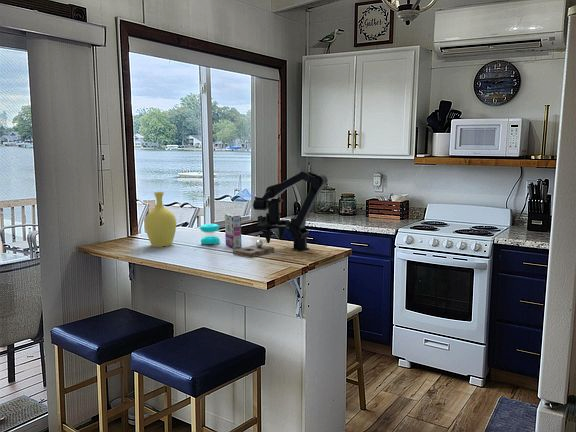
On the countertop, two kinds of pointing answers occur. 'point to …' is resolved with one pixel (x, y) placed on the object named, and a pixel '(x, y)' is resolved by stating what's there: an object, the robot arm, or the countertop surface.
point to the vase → (160, 224)
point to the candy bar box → (233, 230)
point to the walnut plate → (253, 251)
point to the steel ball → (259, 243)
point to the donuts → (210, 238)
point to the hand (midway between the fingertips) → (274, 241)
